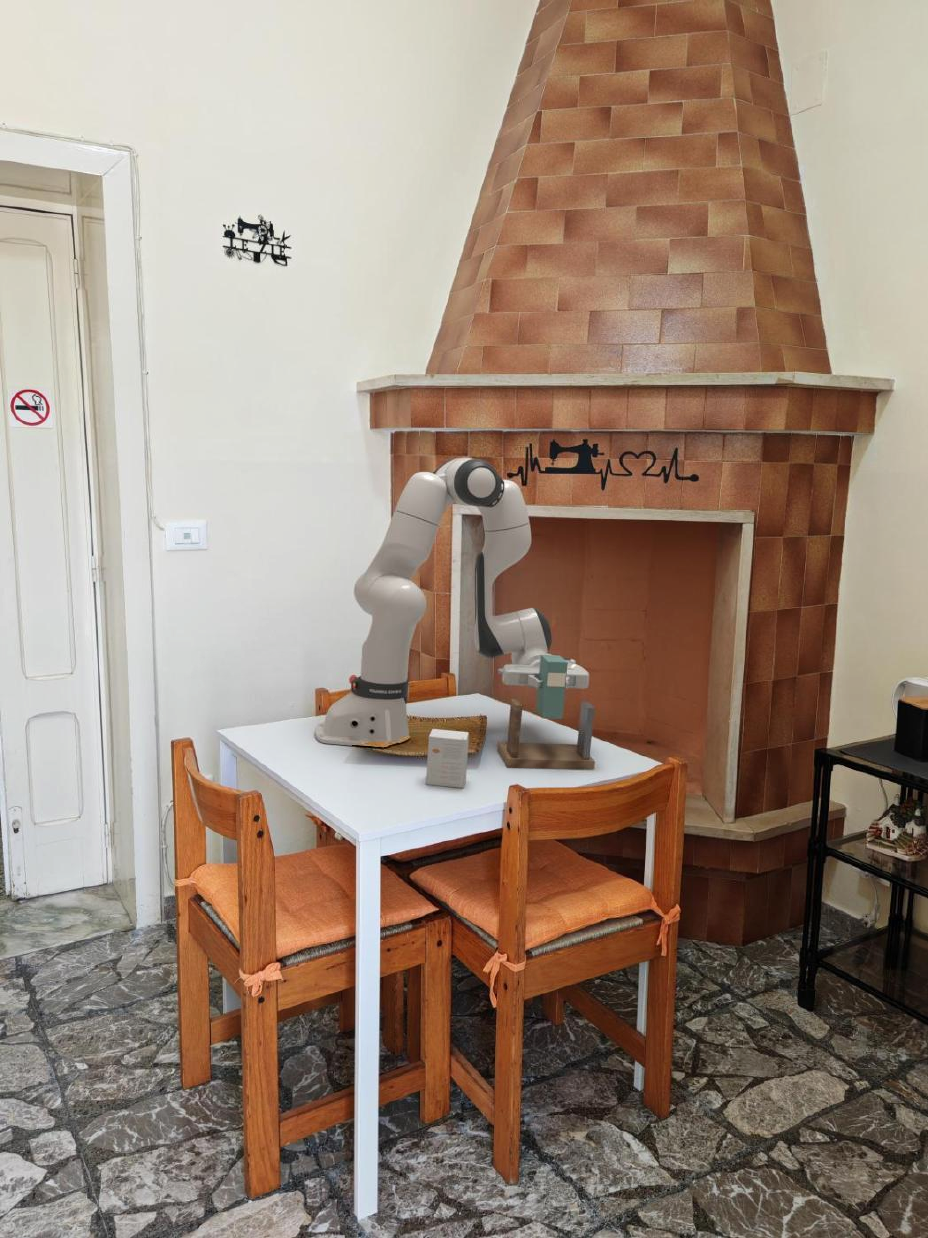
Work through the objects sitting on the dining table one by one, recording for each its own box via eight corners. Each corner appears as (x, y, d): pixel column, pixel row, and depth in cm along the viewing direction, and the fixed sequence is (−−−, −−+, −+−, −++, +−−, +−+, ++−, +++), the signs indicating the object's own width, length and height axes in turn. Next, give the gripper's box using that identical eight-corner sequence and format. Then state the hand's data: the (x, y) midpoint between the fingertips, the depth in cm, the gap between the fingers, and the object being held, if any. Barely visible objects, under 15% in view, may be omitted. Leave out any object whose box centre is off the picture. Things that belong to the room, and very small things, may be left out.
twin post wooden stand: (507, 767, 205) (512, 706, 203) (497, 750, 217) (502, 692, 214) (593, 769, 208) (600, 709, 206) (579, 752, 220) (585, 695, 217)
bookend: (582, 759, 208) (588, 708, 206) (576, 751, 214) (581, 701, 212) (589, 759, 209) (594, 708, 206) (582, 751, 214) (587, 701, 212)
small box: (466, 779, 195) (470, 732, 193) (463, 789, 190) (467, 739, 188) (428, 775, 196) (432, 728, 194) (425, 784, 190) (428, 735, 189)
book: (542, 718, 207) (548, 661, 204) (535, 709, 214) (540, 654, 211) (562, 719, 207) (568, 662, 205) (554, 710, 214) (559, 655, 212)
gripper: (497, 655, 220) (508, 669, 206) (580, 659, 223) (597, 673, 209) (495, 681, 221) (506, 696, 207) (578, 685, 224) (594, 700, 211)
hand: (552, 685), depth 208 cm, fingers closed on book, 4 cm apart
